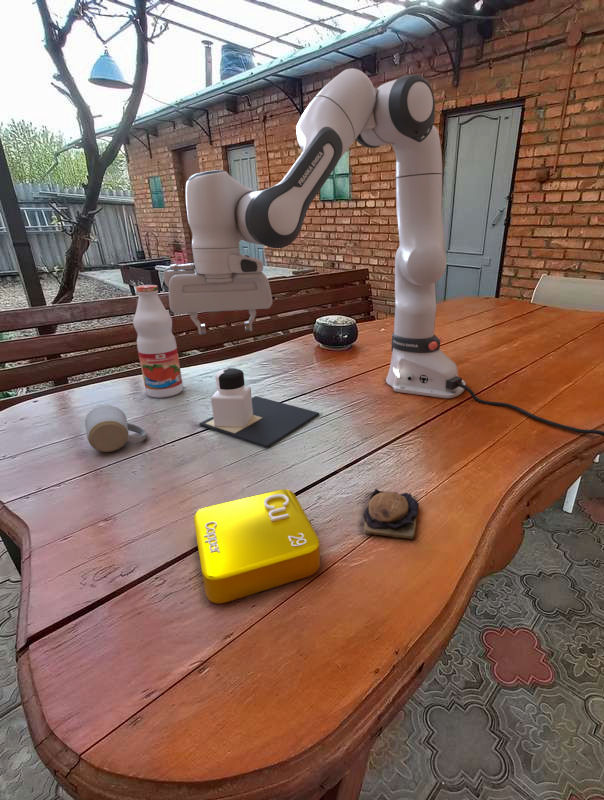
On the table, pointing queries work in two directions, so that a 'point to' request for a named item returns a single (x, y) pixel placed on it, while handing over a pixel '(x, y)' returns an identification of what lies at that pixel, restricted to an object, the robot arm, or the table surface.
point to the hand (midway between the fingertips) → (226, 331)
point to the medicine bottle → (231, 399)
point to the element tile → (254, 545)
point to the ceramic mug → (110, 429)
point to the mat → (266, 422)
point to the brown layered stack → (391, 514)
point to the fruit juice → (156, 345)
